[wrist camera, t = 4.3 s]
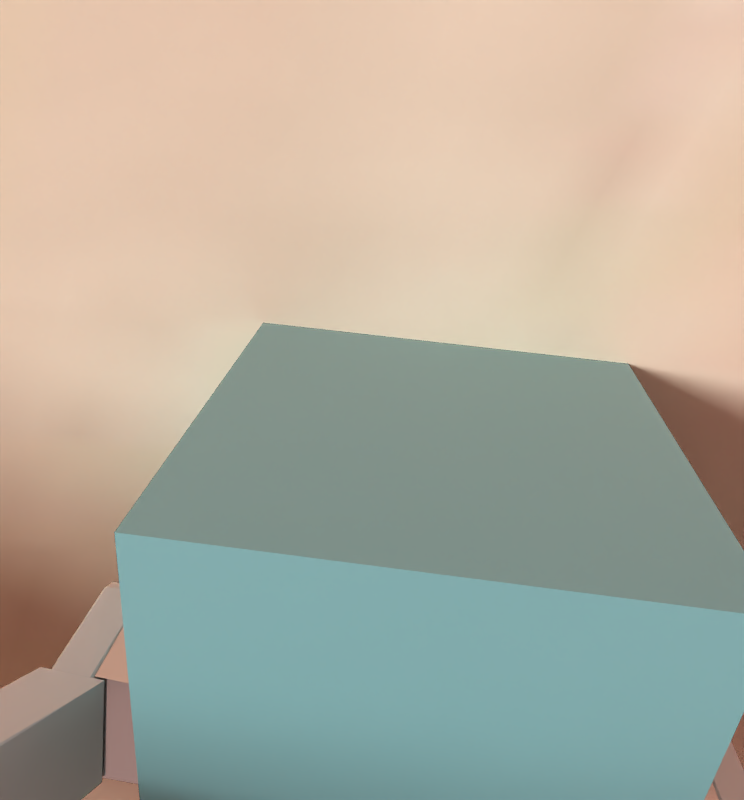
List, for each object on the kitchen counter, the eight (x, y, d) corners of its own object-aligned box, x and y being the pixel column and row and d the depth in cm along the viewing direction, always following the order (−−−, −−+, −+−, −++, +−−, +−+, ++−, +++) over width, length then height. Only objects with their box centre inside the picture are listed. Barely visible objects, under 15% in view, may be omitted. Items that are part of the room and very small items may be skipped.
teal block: (265, 318, 10) (114, 532, 5) (625, 359, 10) (785, 617, 5) (258, 752, 14) (167, 1084, 9) (512, 788, 13) (546, 1148, 9)
